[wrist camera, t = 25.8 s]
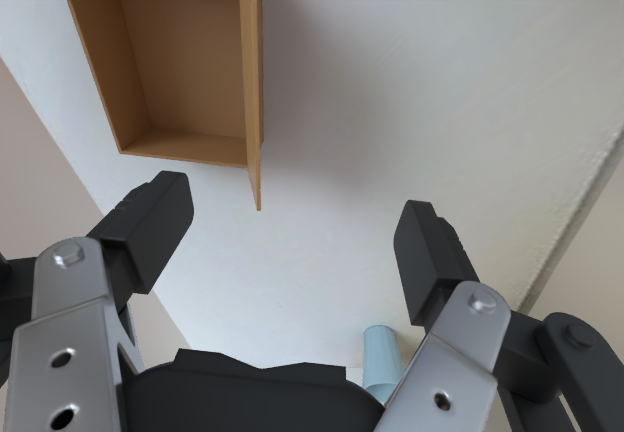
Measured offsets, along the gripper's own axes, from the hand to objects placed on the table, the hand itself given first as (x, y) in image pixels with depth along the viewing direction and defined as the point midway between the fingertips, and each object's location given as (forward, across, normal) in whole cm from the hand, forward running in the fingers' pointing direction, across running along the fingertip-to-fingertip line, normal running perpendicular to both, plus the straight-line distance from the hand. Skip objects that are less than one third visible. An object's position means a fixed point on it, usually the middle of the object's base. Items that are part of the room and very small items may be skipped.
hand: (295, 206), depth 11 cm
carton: (+22, +12, 0) cm, 25 cm away
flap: (+12, +5, 0) cm, 13 cm away
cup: (+22, -16, +44) cm, 52 cm away
